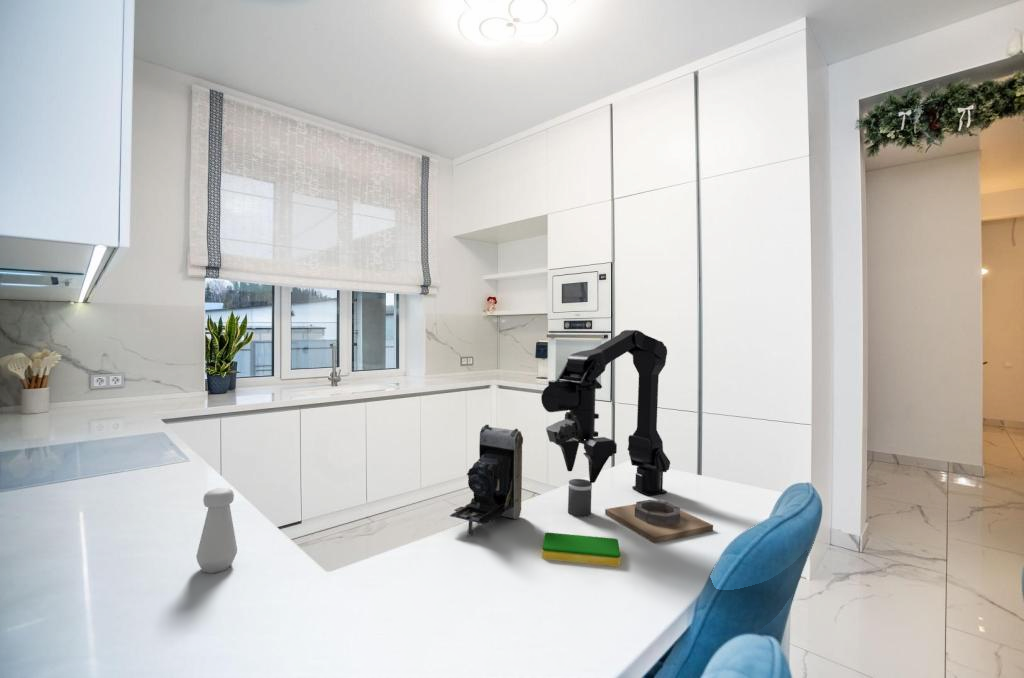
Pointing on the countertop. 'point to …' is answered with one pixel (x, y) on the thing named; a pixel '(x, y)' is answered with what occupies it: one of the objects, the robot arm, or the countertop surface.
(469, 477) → the vintage camera
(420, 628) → the countertop surface
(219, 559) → the salt shaker
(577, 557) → the dish sponge
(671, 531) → the mount
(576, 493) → the lens
